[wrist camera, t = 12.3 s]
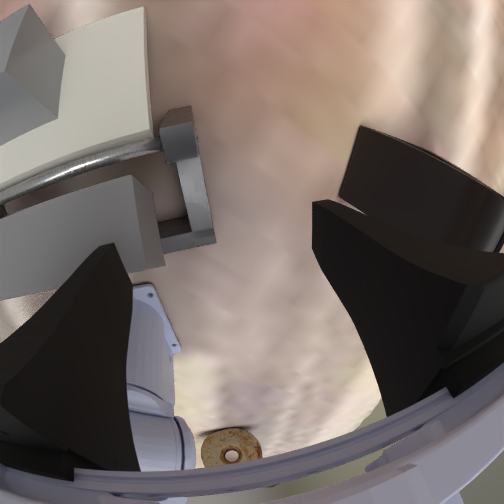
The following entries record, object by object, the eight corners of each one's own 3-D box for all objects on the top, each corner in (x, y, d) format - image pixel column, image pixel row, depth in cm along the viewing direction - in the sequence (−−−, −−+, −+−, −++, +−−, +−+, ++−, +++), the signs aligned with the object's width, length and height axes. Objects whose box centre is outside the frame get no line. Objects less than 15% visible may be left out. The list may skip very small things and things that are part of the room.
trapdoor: (183, 261, 15) (170, 263, 11) (-2, 300, 14) (-39, 308, 10) (154, 44, 15) (143, 6, 11) (-4, 110, 14) (-32, 91, 10)
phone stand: (336, 195, 22) (432, 296, 13) (359, 123, 19) (486, 190, 9) (412, 210, 25) (498, 290, 15) (434, 153, 22) (536, 218, 12)
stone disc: (255, 421, 44) (268, 472, 36) (255, 428, 46) (267, 476, 38) (195, 430, 43) (203, 482, 35) (199, 436, 45) (207, 485, 37)
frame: (214, 225, 22) (226, 285, 16) (22, 270, 20) (-7, 326, 14) (192, 105, 16) (194, 121, 11) (-19, 181, 15) (-67, 224, 9)
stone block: (58, 118, 11) (4, 70, 6) (-3, 147, 10) (-59, 118, 5) (65, 55, 11) (29, 3, 6) (7, 84, 10) (-35, 47, 5)
